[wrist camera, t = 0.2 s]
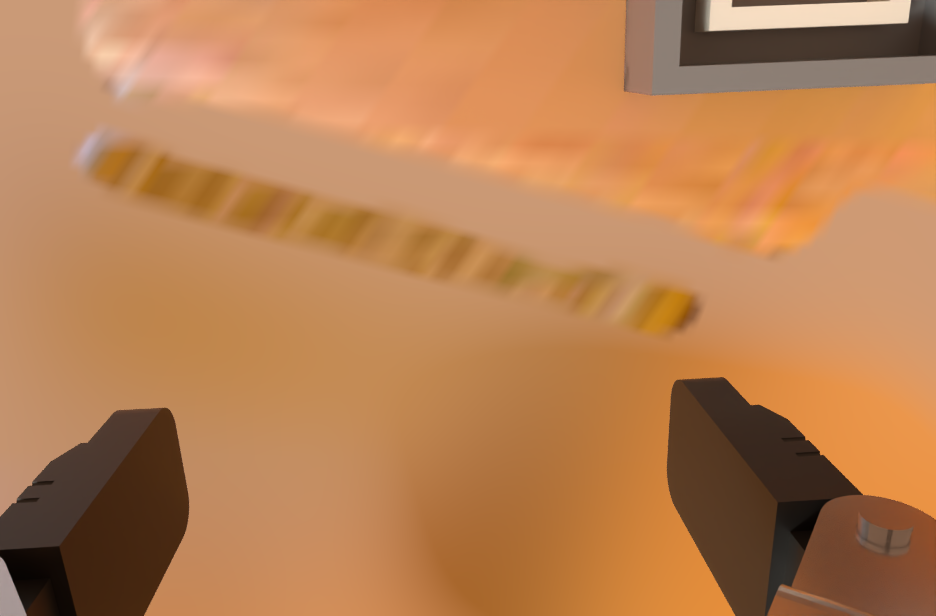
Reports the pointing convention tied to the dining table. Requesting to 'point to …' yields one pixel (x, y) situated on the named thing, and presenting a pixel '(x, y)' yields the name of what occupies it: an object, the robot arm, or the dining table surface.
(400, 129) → the dining table surface
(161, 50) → the dining table surface
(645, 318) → the dining table surface
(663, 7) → the walled box
